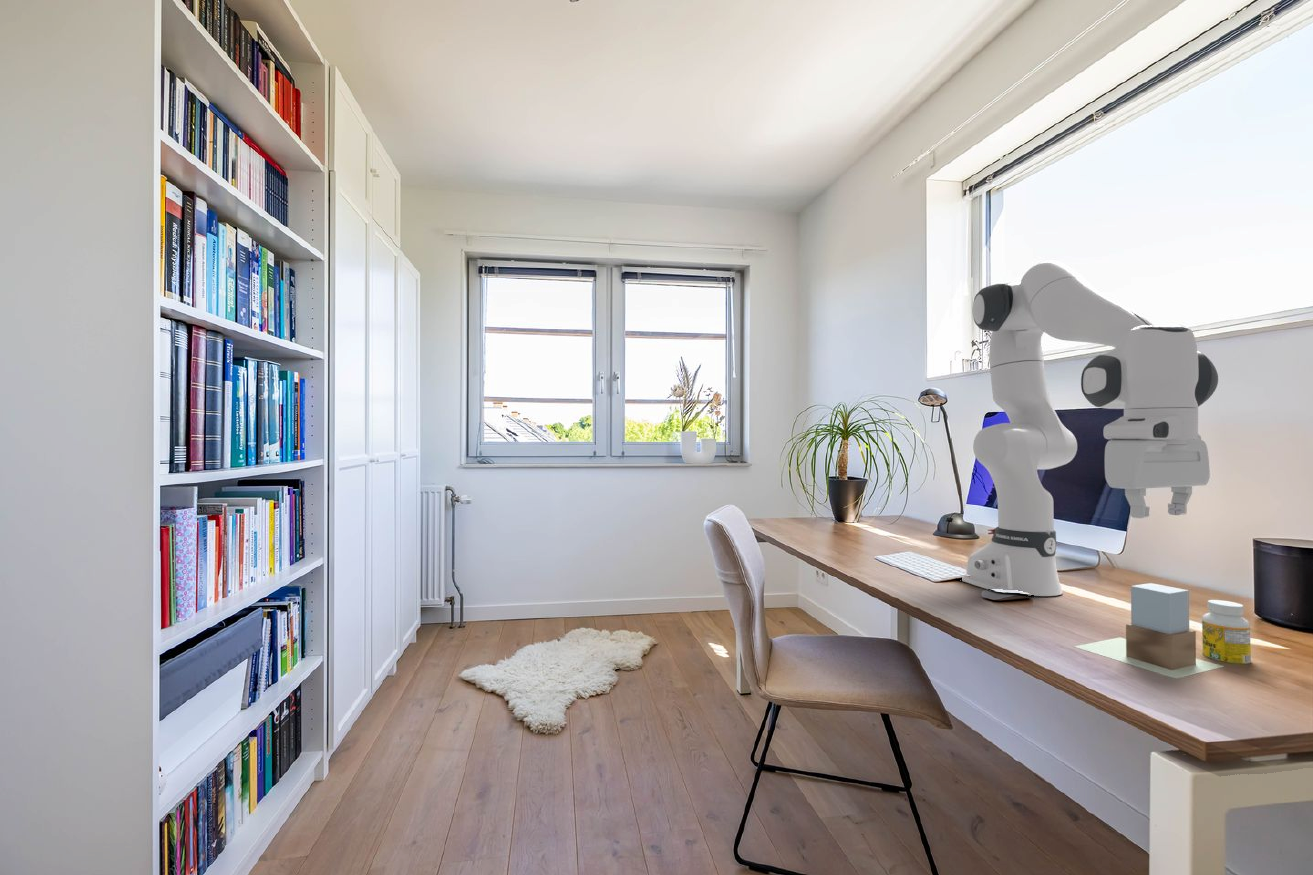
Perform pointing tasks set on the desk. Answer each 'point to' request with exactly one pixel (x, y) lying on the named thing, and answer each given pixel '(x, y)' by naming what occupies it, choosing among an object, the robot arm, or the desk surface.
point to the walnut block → (1161, 647)
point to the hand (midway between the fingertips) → (1158, 516)
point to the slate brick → (1160, 608)
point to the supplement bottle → (1226, 633)
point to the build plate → (1118, 652)
